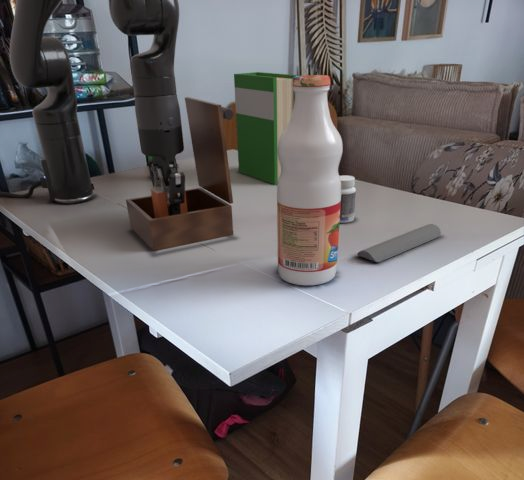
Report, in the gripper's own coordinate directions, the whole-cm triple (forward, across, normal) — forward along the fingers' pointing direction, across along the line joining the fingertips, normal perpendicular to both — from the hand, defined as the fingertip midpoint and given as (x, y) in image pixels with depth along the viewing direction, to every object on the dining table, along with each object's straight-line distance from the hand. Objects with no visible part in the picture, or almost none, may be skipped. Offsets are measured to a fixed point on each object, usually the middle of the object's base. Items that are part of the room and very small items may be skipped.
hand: (171, 220), depth 95 cm
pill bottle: (+3, +10, +33) cm, 35 cm away
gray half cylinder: (+3, +27, +33) cm, 43 cm away
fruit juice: (+3, +29, +12) cm, 31 cm away
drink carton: (+2, 0, 0) cm, 2 cm away
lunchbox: (+3, 0, +2) cm, 3 cm away
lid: (-12, 0, +8) cm, 14 cm away
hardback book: (+3, -31, +38) cm, 49 cm away
